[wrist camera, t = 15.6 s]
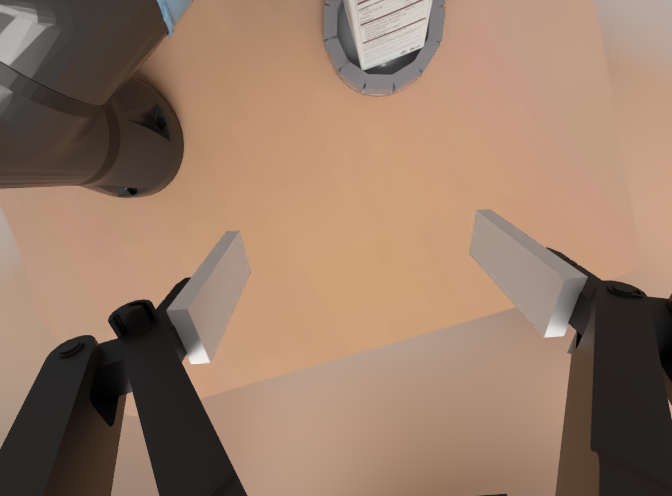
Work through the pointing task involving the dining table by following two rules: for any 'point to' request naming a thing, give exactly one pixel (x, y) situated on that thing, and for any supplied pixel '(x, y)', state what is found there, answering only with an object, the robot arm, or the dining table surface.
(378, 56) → the supplement box
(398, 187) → the dining table surface
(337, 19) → the round holder
